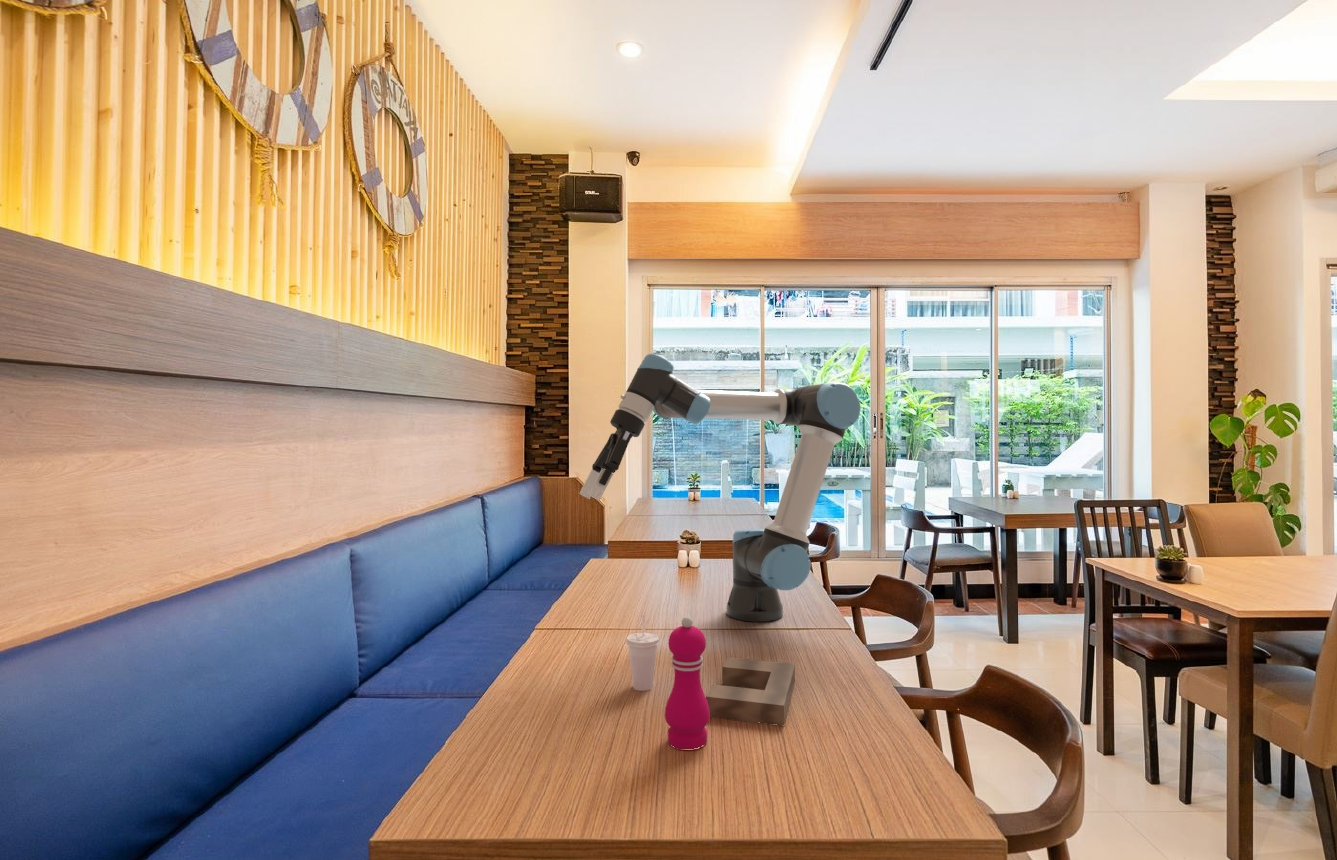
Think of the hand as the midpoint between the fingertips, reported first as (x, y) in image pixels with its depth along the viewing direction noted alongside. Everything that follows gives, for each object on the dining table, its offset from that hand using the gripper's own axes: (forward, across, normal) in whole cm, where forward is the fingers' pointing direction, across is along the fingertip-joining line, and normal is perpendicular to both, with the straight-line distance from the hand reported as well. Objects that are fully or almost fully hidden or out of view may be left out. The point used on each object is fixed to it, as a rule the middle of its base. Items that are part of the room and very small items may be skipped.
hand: (588, 497), depth 145 cm
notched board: (+20, +31, +40) cm, 55 cm away
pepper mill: (+29, +44, +26) cm, 59 cm away
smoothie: (+29, +20, +24) cm, 43 cm away
